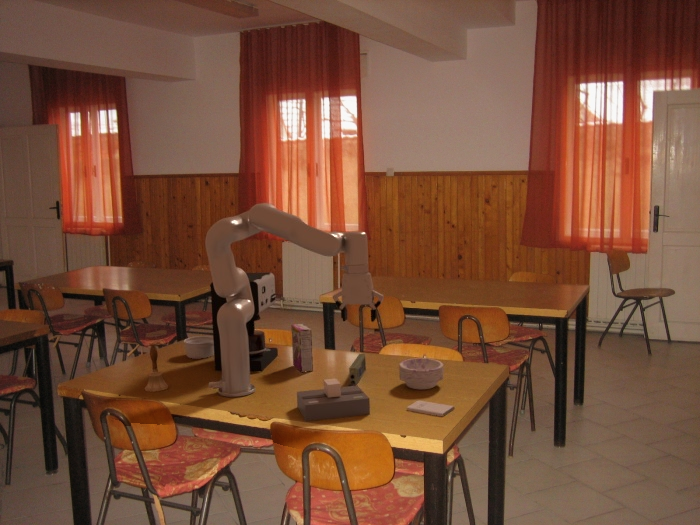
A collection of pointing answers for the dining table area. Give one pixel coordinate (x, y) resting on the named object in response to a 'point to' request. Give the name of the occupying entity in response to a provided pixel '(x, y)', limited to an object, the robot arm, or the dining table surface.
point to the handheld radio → (357, 369)
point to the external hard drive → (430, 408)
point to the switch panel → (332, 404)
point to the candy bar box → (302, 347)
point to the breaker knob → (332, 387)
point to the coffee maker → (262, 299)
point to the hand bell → (155, 374)
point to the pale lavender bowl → (421, 373)
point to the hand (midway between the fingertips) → (359, 320)
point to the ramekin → (199, 347)
